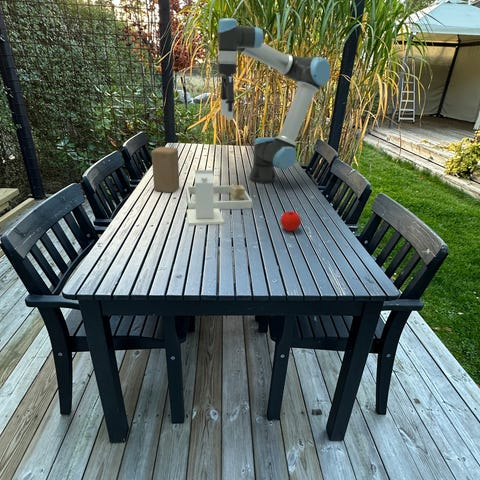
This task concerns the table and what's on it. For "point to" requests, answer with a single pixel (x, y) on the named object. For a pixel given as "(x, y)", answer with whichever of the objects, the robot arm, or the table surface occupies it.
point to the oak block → (237, 193)
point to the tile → (204, 221)
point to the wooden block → (165, 169)
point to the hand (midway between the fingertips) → (226, 117)
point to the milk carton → (204, 193)
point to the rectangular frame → (221, 204)
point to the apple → (290, 221)
